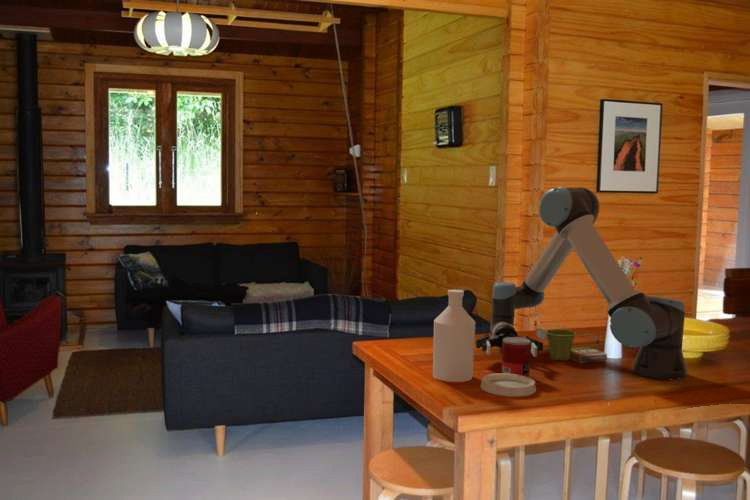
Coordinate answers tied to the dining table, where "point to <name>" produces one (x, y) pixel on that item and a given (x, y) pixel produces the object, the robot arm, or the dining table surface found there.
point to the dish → (508, 385)
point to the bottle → (453, 342)
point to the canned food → (516, 356)
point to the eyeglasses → (542, 334)
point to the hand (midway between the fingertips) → (512, 351)
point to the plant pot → (560, 343)
